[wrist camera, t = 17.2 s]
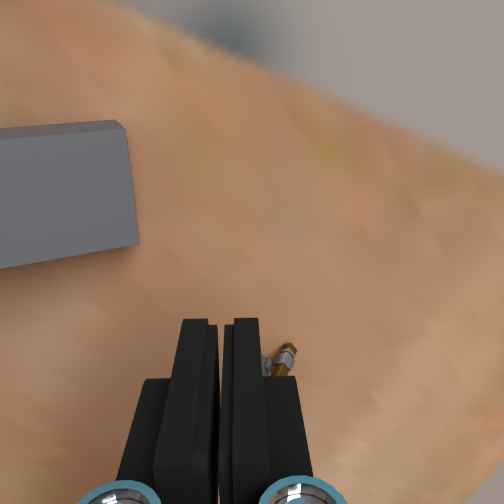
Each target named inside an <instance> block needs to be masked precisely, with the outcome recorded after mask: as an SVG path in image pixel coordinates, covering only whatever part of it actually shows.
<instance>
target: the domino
mask: <svg viewBox="0 0 504 504" xmlns="http://www.w3.org/2000/svg"><path fill="white" fill-rule="evenodd" d="M138 244H140V242H139V234H138V226H137V218H136V210H135V201H134V193H133V185H132V177H131V169H130V161H129V153H128V145H127V137H126V129H125V128H124V127H123V126H121V125H120V124H119V123H118V122H117V121H116V120H105V121H92V122H79V123H66V124H53V125H40V126H27V127H14V128H1V129H0V269H3V268H9V267H15V266H20V265H26V264H31V263H37V262H43V261H48V260H54V259H59V258H65V257H71V256H76V255H82V254H87V253H93V252H98V251H104V250H110V249H115V248H121V247H126V246H132V245H138Z"/></svg>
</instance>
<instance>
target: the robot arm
mask: <svg viewBox="0 0 504 504" xmlns="http://www.w3.org/2000/svg"><path fill="white" fill-rule="evenodd" d="M218 490H219V496H220V504H347V502H346V500H345V499H344V497H343V495H342V494H340V493H339V492H338V491H337V490H336V489H335V488H334V487H333V486H332V485H330V484H328V483H326V482H324V481H323V480H321V479H318V478H314V477H313V472H312V466H311V461H310V455H309V450H308V444H307V439H306V433H305V428H304V422H303V416H302V411H301V405H300V400H299V394H298V389H297V383H296V379H295V376H263V374H262V361H261V348H260V336H259V323H258V318H234V324H233V325H225V328H224V349H223V370H222V391H221V405H220V379H219V353H218V328H217V325H208V319H183V322H182V326H181V331H180V336H179V341H178V346H177V350H176V355H175V360H174V365H173V370H172V375H171V378H164V379H146V380H145V381H144V384H143V387H142V390H141V394H140V397H139V401H138V404H137V408H136V411H135V415H134V418H133V422H132V425H131V429H130V432H129V436H128V439H127V443H126V446H125V450H124V453H123V457H122V460H121V464H120V467H119V471H118V474H117V478H116V481H114V482H110V483H107V484H103V485H101V486H99V487H98V488H96V489H94V490H92V491H90V492H89V493H87V494H86V495H85V496H84V497H83V498H82V499H81V500H80V501H78V502H77V503H76V504H218Z"/></svg>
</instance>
